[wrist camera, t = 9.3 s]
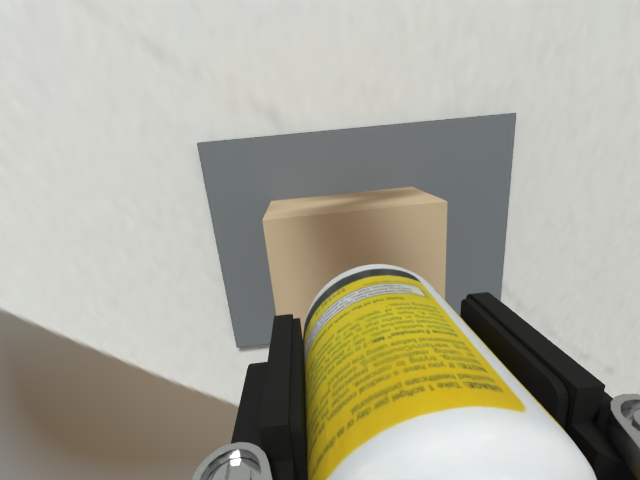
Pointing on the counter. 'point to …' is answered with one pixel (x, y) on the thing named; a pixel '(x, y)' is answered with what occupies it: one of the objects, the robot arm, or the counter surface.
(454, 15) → the counter surface
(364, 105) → the counter surface
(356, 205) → the oak block
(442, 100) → the counter surface
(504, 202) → the mat
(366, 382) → the supplement bottle
